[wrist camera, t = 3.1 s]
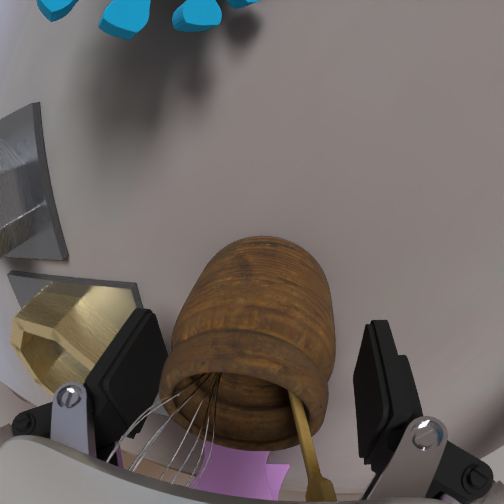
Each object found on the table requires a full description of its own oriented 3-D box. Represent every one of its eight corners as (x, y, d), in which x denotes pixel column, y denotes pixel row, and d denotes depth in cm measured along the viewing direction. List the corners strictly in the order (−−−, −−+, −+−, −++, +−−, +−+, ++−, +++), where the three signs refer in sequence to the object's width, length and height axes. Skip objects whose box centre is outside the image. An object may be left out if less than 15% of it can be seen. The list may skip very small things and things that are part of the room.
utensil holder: (206, 220, 13) (20, 495, 2) (351, 244, 12) (406, 574, 2) (202, 324, 16) (111, 540, 5) (319, 345, 15) (307, 580, 5)
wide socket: (135, 283, 15) (101, 324, 12) (180, 412, 20) (166, 449, 17) (11, 270, 17) (-19, 295, 14) (67, 381, 22) (49, 407, 19)
